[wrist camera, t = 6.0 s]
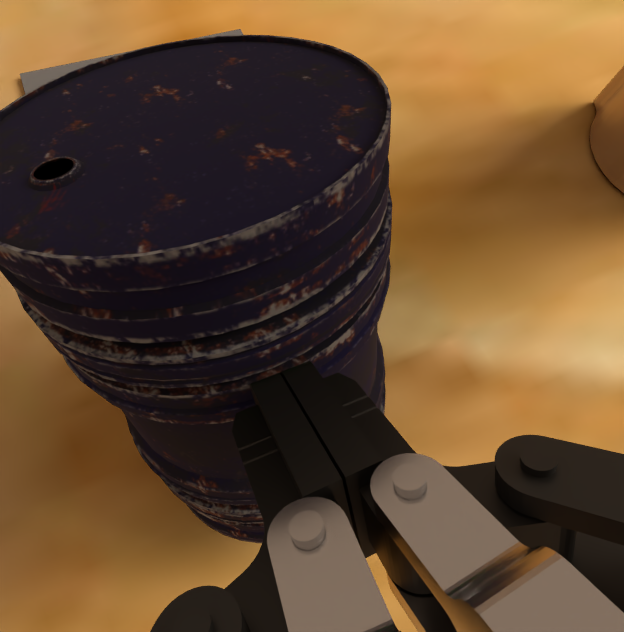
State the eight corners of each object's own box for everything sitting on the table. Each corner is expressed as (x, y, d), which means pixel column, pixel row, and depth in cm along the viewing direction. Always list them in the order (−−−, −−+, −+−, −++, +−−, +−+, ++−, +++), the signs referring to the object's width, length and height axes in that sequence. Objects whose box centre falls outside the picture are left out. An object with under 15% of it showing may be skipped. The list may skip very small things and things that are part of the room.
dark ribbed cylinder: (292, 316, 27) (234, 10, 15) (431, 434, 21) (497, 95, 10) (130, 428, 23) (-103, 132, 12) (249, 607, 17) (29, 373, 6)
